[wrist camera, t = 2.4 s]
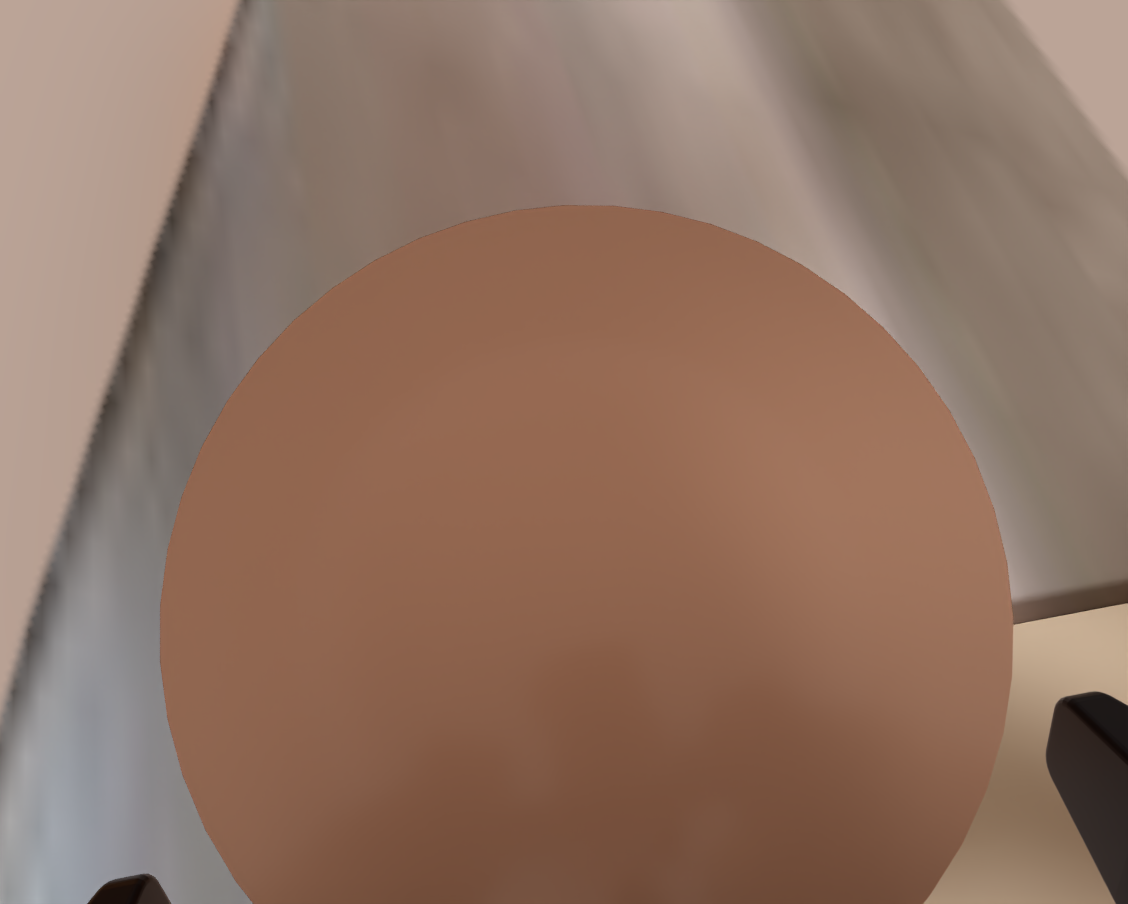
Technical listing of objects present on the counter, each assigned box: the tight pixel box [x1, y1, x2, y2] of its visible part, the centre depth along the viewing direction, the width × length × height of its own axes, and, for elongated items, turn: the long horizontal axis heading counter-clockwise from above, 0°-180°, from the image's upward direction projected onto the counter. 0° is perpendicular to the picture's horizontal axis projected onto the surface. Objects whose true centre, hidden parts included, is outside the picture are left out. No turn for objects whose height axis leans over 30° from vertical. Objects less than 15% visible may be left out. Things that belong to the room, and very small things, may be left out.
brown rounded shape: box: [160, 205, 1013, 904], centre depth 13 cm, size 6×6×12 cm
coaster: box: [923, 603, 1128, 904], centre depth 17 cm, size 8×8×1 cm
